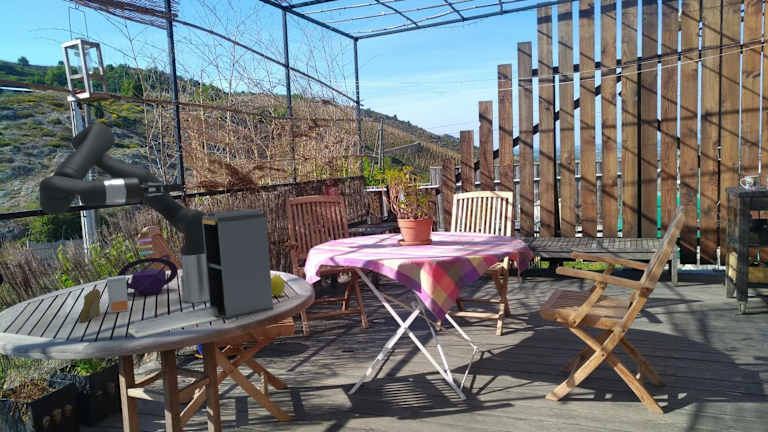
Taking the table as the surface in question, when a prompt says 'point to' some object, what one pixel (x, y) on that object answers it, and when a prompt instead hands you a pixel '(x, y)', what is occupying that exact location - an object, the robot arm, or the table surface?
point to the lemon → (277, 285)
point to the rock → (90, 306)
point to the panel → (175, 319)
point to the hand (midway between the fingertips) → (177, 187)
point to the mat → (171, 327)
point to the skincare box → (117, 294)
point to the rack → (237, 262)
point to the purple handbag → (148, 271)
